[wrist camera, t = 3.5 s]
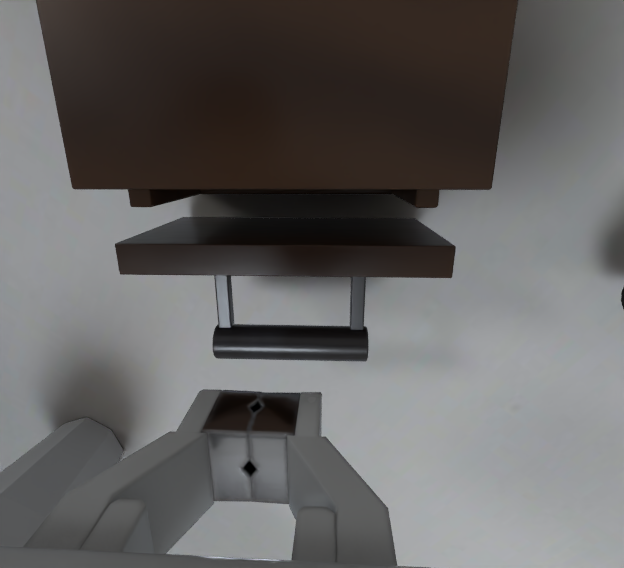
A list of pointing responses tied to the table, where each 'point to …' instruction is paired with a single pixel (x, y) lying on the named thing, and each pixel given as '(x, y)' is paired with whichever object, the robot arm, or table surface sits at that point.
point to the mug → (622, 298)
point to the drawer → (287, 264)
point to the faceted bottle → (52, 475)
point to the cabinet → (279, 92)
